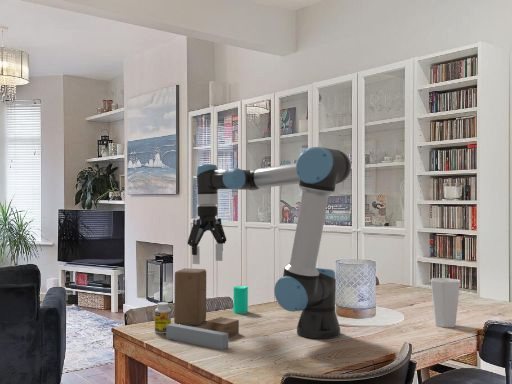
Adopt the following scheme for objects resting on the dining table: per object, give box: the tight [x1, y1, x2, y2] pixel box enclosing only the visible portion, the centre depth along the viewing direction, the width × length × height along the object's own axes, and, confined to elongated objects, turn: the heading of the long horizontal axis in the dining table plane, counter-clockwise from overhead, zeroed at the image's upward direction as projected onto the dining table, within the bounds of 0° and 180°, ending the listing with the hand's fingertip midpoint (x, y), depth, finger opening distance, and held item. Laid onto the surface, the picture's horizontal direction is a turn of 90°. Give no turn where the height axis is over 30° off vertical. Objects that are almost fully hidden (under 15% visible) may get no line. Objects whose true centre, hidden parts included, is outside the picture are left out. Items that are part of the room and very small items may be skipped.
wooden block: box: [173, 268, 207, 326], centre depth 208 cm, size 10×10×20 cm
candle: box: [232, 285, 249, 314], centre depth 228 cm, size 6×6×12 cm
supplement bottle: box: [154, 301, 172, 335], centre depth 192 cm, size 6×6×10 cm
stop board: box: [165, 322, 229, 350], centre depth 178 cm, size 24×3×4 cm, turn 56°
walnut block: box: [206, 316, 240, 338], centre depth 190 cm, size 8×8×5 cm
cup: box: [429, 277, 461, 328], centre depth 205 cm, size 11×10×17 cm
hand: (207, 262), depth 204 cm, fingers open, 13 cm apart
